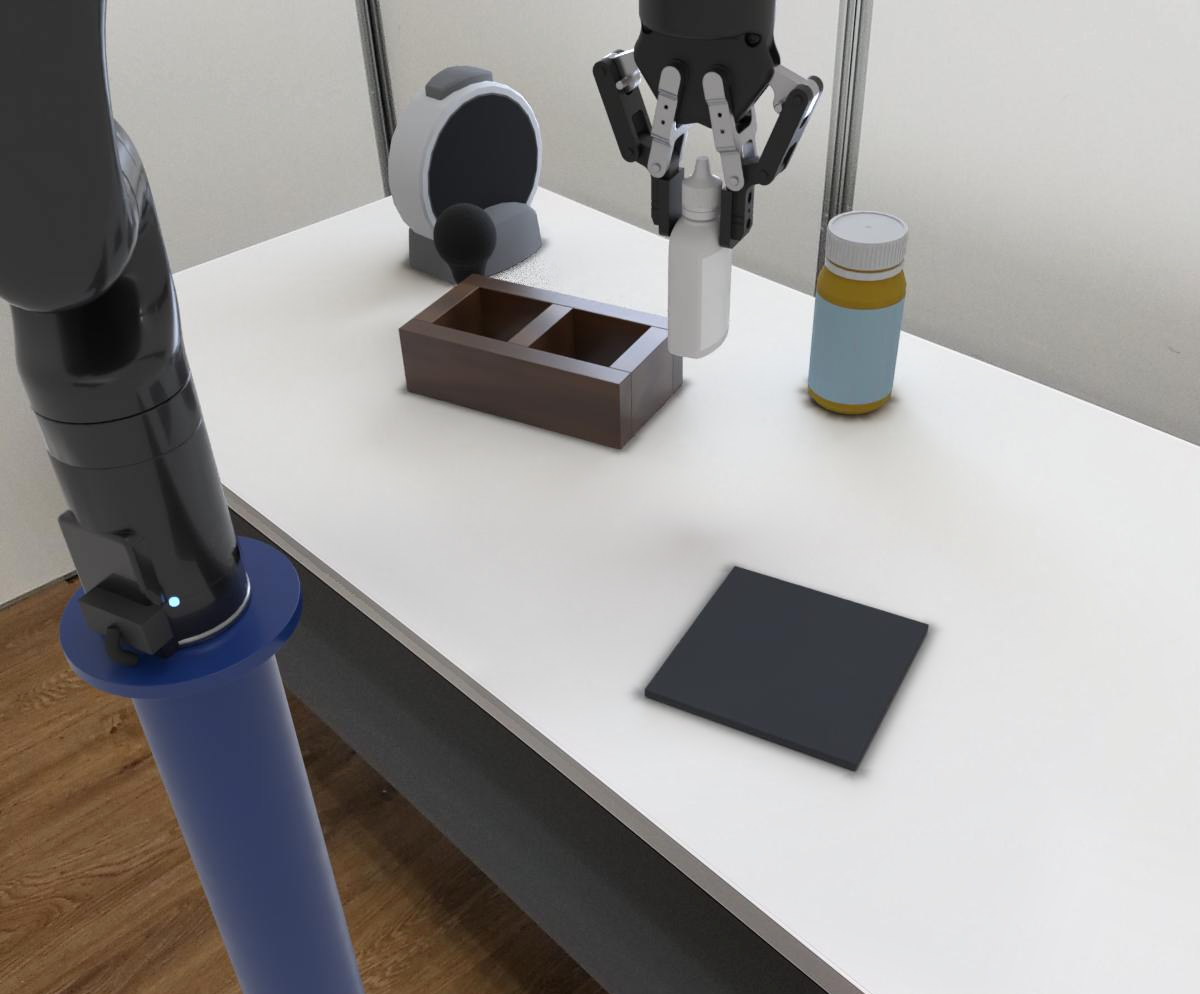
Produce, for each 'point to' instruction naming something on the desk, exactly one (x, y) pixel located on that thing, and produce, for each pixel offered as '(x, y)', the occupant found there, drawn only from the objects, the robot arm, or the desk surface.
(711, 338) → the eye dropper bottle
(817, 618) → the mat
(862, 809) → the desk surface
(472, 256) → the light bulb
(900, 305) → the bottle
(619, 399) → the holder
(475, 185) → the alarm clock
